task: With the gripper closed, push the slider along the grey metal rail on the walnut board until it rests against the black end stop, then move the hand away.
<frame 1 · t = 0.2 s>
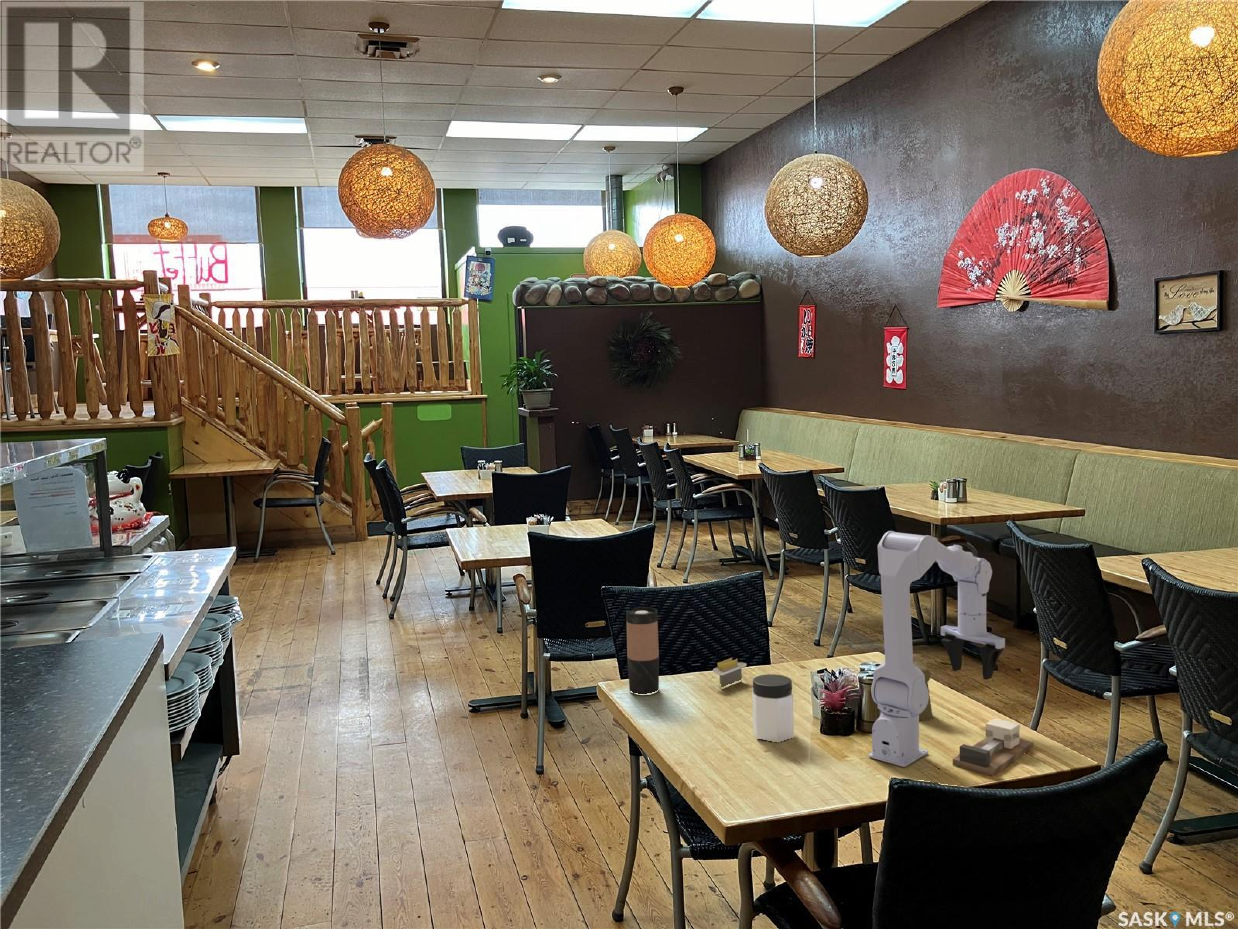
hand: (971, 674, 206), 10 cm above the table, tool pointing down, fingers open, 7 cm apart
travel mug: (644, 691, 233), on the table
rail board: (993, 756, 187), on the table
jar: (773, 736, 202), on the table
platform: (728, 687, 235), on the table
slider: (1002, 733, 189), point 3 cm above the table, slide at 0.0 cm
cork: (918, 716, 210), on the table
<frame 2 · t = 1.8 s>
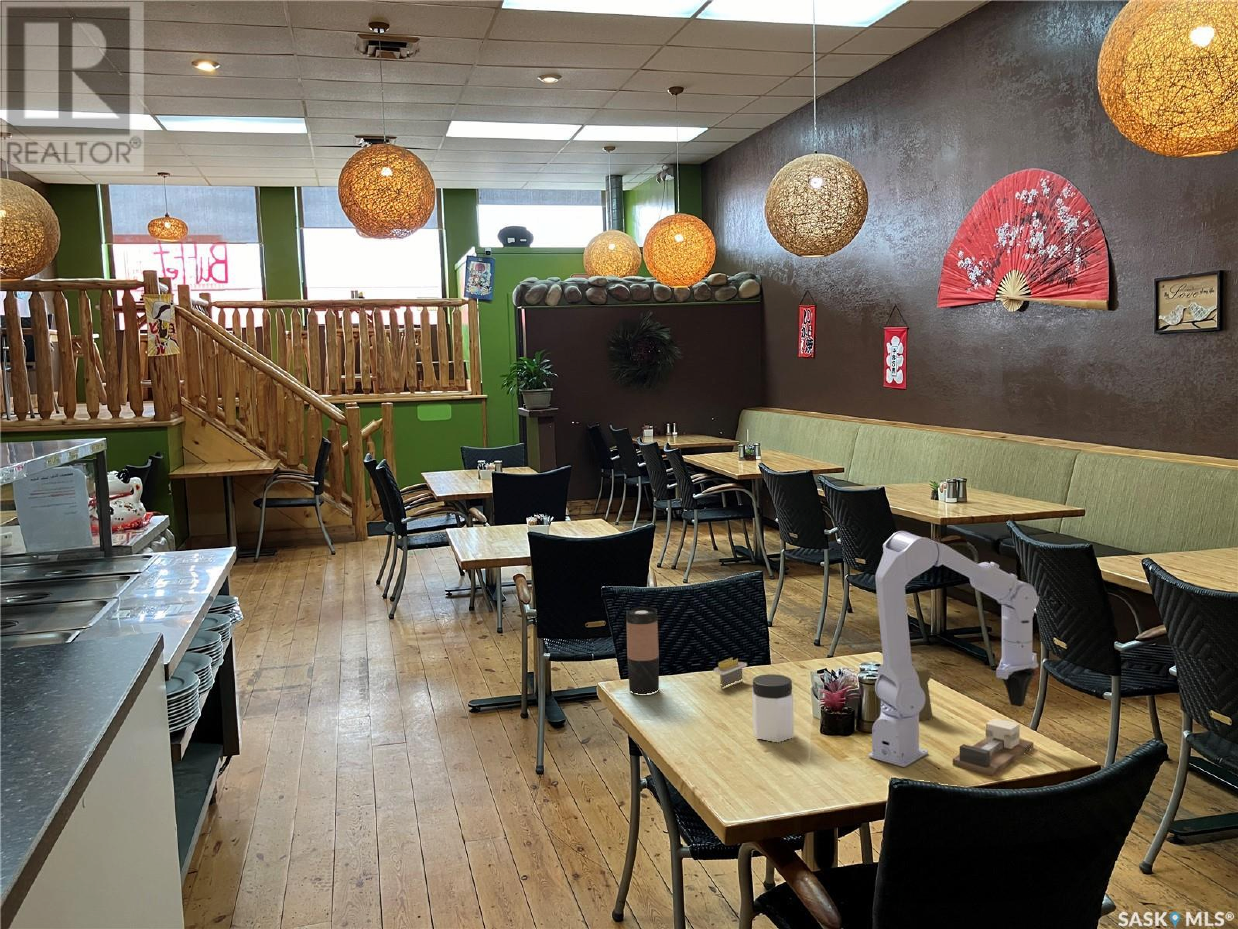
hand: (1017, 704, 193), 8 cm above the table, tool pointing down, fingers closed
nothing on the table moved.
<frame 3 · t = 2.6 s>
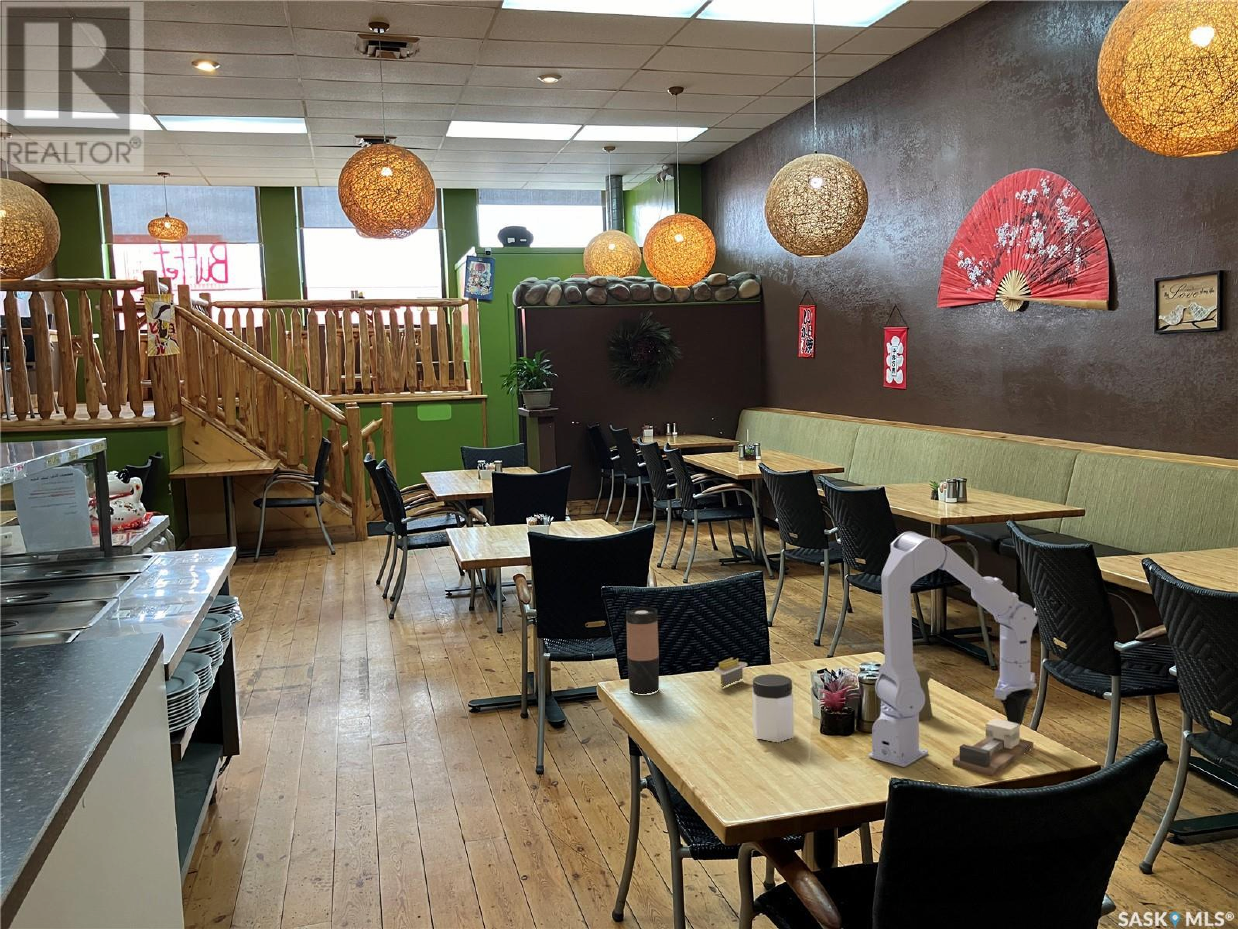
hand: (1014, 724, 193), 4 cm above the table, tool pointing down, fingers closed
nothing on the table moved.
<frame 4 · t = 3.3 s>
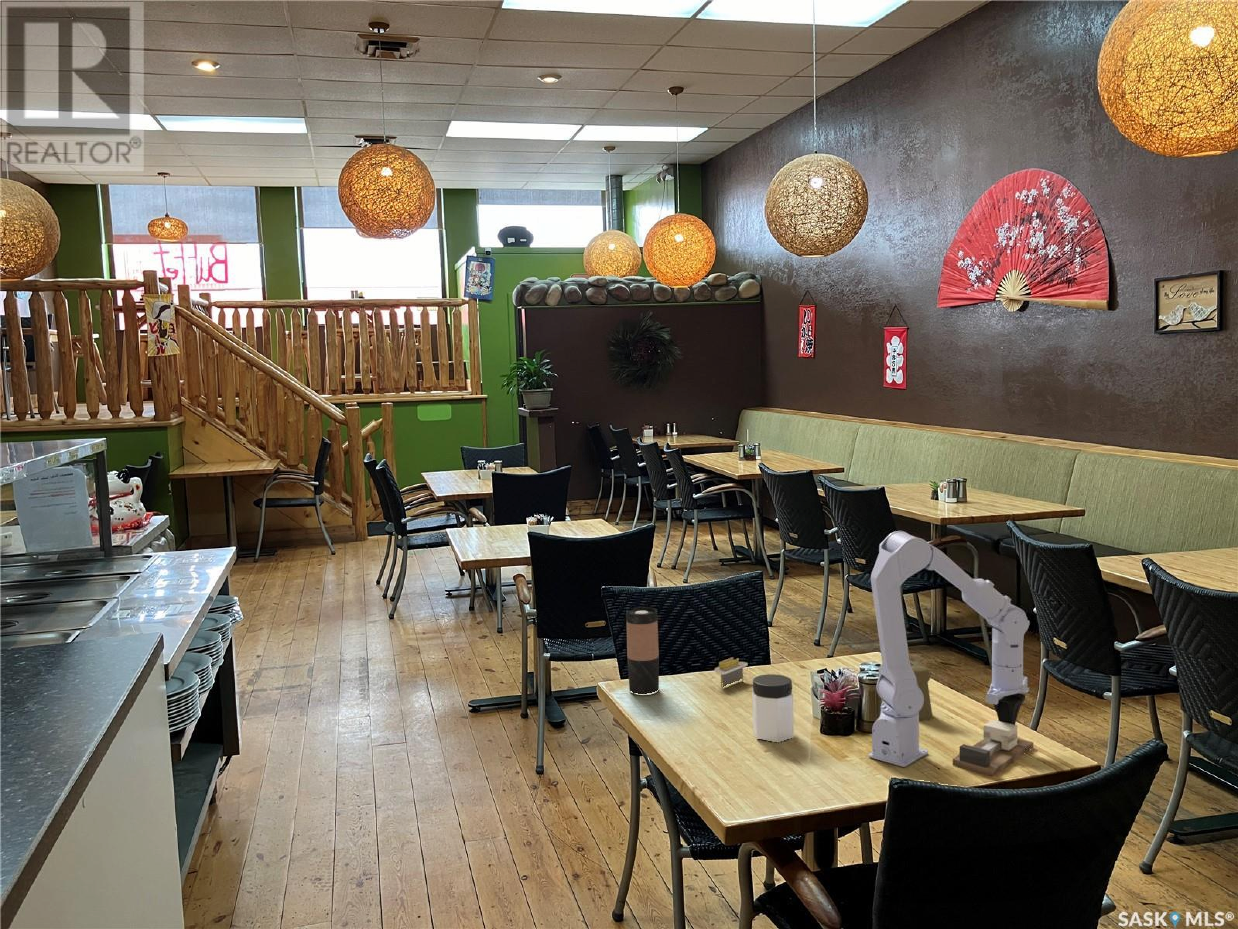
hand: (1007, 729, 191), 4 cm above the table, tool pointing down, fingers closed
slider: (1000, 734, 189), point 3 cm above the table, slide at 1.0 cm, touching gripper
everything else where it was.
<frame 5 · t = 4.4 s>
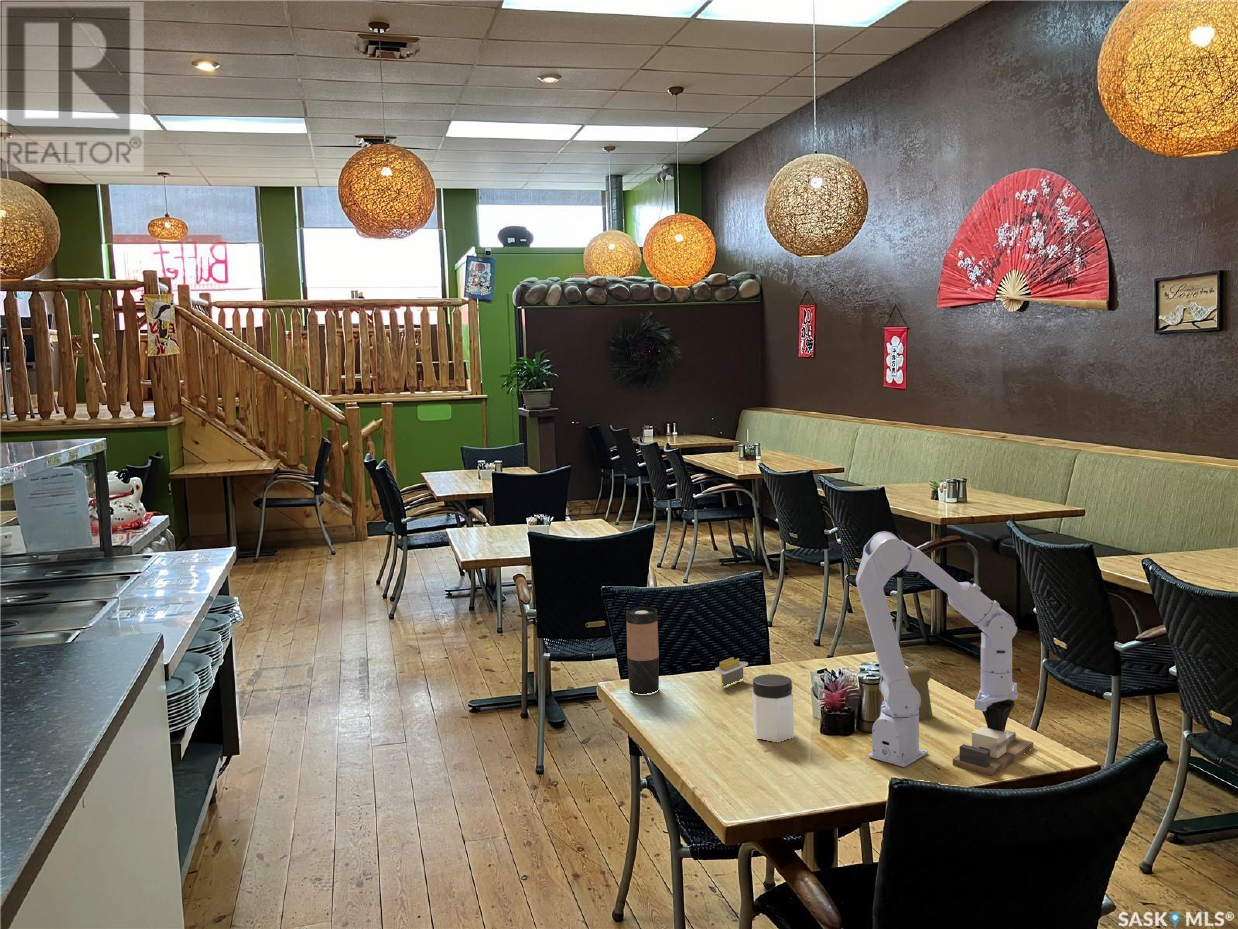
hand: (996, 736, 187), 4 cm above the table, tool pointing down, fingers closed
slider: (989, 742, 185), point 3 cm above the table, slide at 6.1 cm, touching gripper
everything else where it was.
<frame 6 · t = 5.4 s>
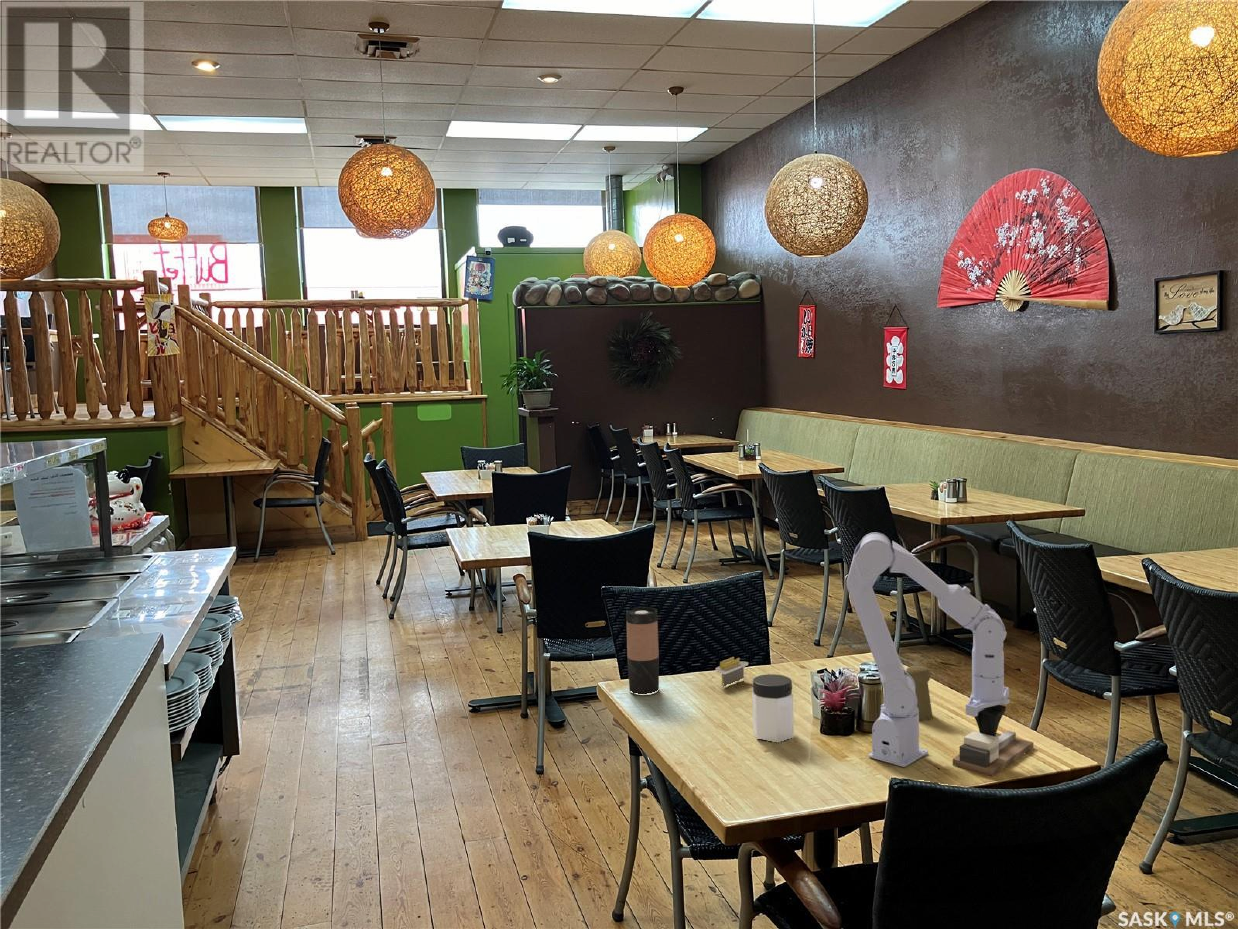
hand: (987, 742, 185), 4 cm above the table, tool pointing down, fingers closed
slider: (981, 747, 183), point 3 cm above the table, slide at 9.4 cm, touching gripper, rail board
everything else where it was.
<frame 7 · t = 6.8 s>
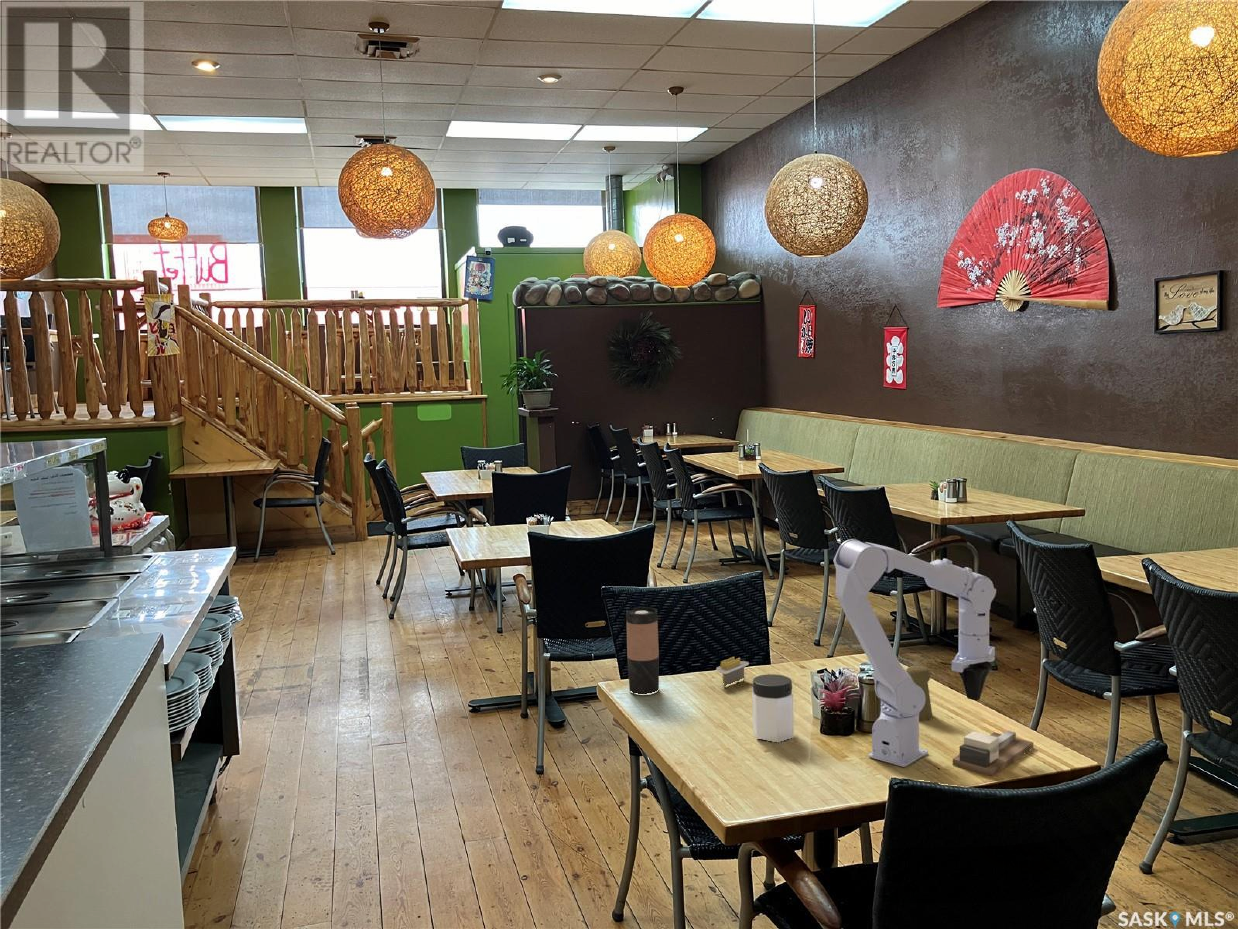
hand: (973, 698, 192), 10 cm above the table, tool pointing down, fingers closed
slider: (981, 747, 183), point 3 cm above the table, slide at 9.4 cm, touching rail board
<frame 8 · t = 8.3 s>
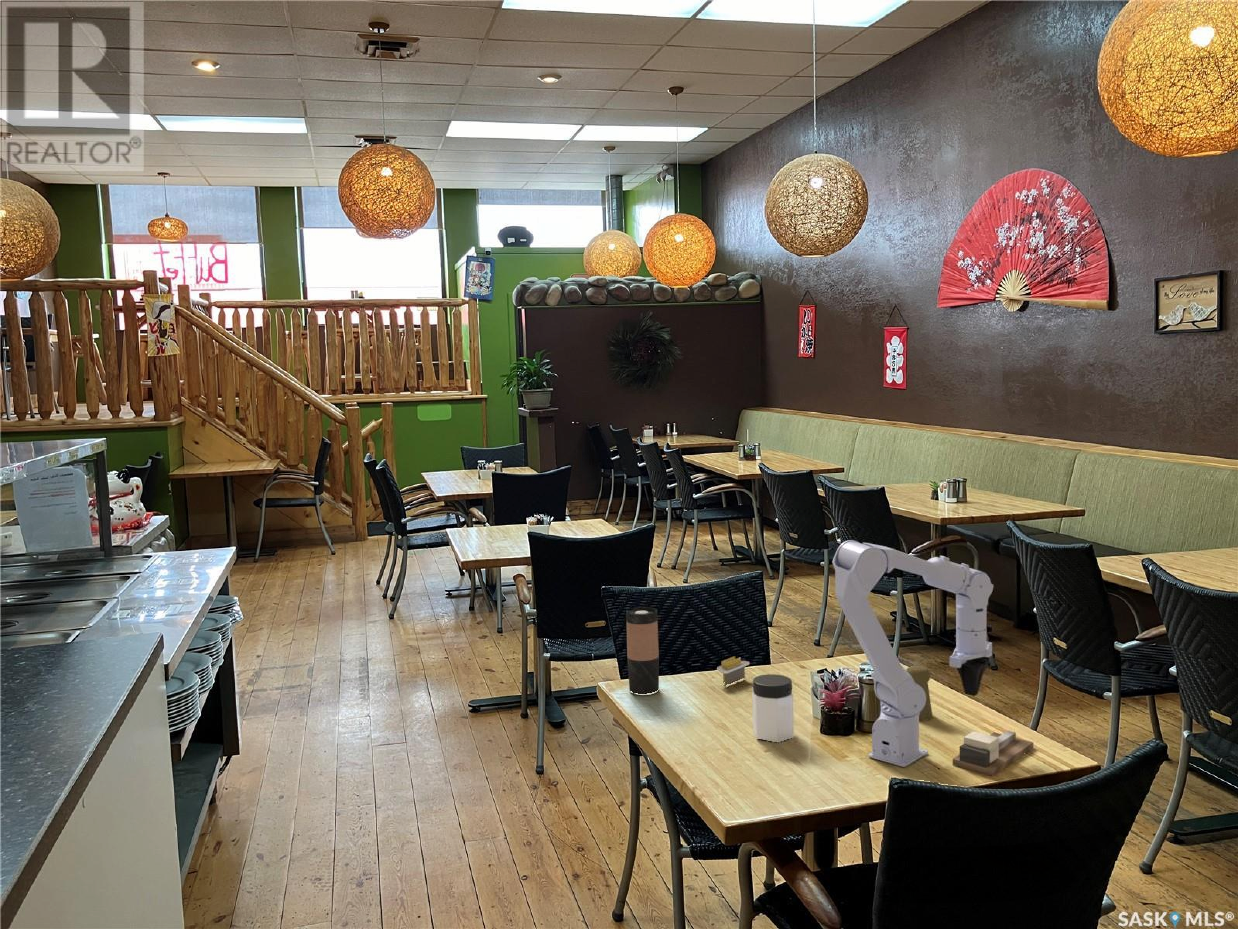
hand: (971, 694, 192), 10 cm above the table, tool pointing down, fingers closed
at the end: slider slide at 9.4 cm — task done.
